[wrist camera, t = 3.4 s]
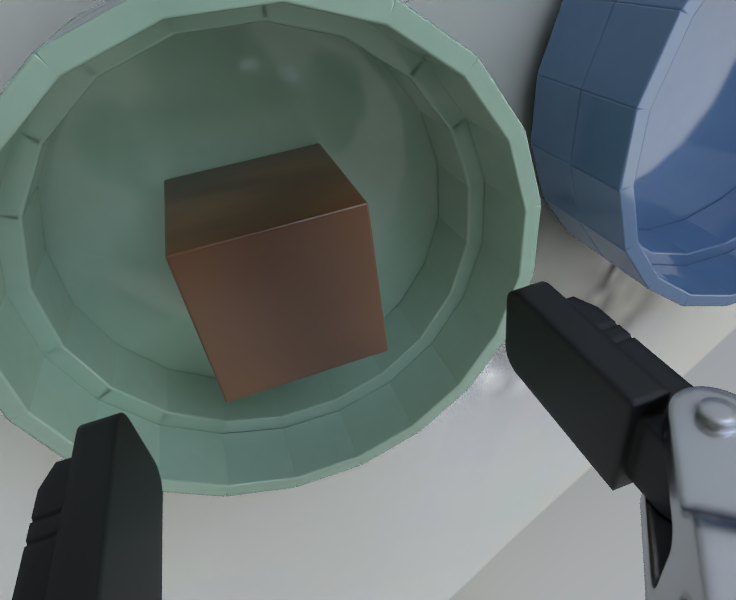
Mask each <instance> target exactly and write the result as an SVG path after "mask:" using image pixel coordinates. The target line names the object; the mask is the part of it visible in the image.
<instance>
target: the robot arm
mask: <svg viewBox="0 0 736 600" xmlns="http://www.w3.org/2000/svg"><path fill="white" fill-rule="evenodd" d="M506 352H507V356H508V359H509V361H510V364H511V366H512V368H513V369H514V371H515V372H516V373H517V375H518V376H519V377H520V378H521V379H522V381H523V382H524V383H525V384H526V386H527V387H528V388H529V389H530V390H531V392H532V393H533V394H534V395H535V397H536V398H537V399H538V400H539V401H540V403H541V404H542V405H543V406H544V407H545V409H546V410H547V411H548V412H549V414H550V415H551V416H552V417H553V418H554V420H555V421H556V422H557V423H558V425H559V426H560V427H561V428H562V429H563V431H564V432H565V433H566V434H567V435H568V437H569V438H570V439H571V440H572V442H573V443H574V444H575V445H576V446H577V448H578V449H579V450H580V451H581V453H582V454H583V455H584V456H585V457H586V459H587V460H588V461H589V462H590V463H591V465H592V466H593V467H594V468H595V470H596V471H597V472H598V473H599V474H600V476H601V477H602V478H603V479H604V481H606V483H607V484H608V485H609V487H610V488H611V489H612V490H615V489H617V488H620V487H623V486H625V485H628V484H630V483H634V484H635V485H636V486H637V488H638V489H639V490H640V491H641V492H642V495H641V499H640V509H641V526H642V541H643V542H642V543H643V559H644V576H645V597H646V598H645V599H646V600H736V395H735V394H733V393H731V392H728V391H725V390H721V389H718V388H713V387H704V386H699V387H693V386H692V385H691V384H689V383H688V382H687V381H686V380H685V379H683V378H682V377H681V376H680V375H679V374H677V373H676V372H675V371H674V370H673V369H671V368H670V367H669V366H668V365H667V364H665V363H664V362H663V361H662V360H661V359H659V358H658V357H657V356H656V355H655V354H653V353H652V352H651V351H650V350H649V349H647V348H646V347H645V346H644V345H643V344H641V343H640V342H639V341H638V340H637V339H635V338H631V336H630V334H629V333H628V332H627V331H626V330H625V329H623V328H622V327H621V326H620V325H616V323H615V321H614V320H613V319H611V318H610V317H609V316H608V315H607V314H605V313H604V312H603V311H602V310H601V309H599V308H598V307H597V306H594V305H592V304H590V303H587V302H585V301H583V300H580V299H578V298H576V297H570V298H567V299H566V298H565V297H563V296H562V295H561V294H560V293H559V292H558V291H557V290H555V289H554V288H553V287H552V286H551V285H550V284H548V283H547V282H543V281H542V282H538V283H535V284H532V285H529V286H525V287H522V288H519V289H516V290H513V291H510V292H509V293H508V296H507V307H506ZM162 504H163V491H162V482H161V477H160V473H159V470H158V467H157V465H156V463H155V461H154V459H153V457H152V456H151V454H150V452H149V451H148V449H147V447H146V446H145V444H144V442H143V441H142V439H141V438H140V436H139V434H138V433H137V431H136V429H135V428H134V426H133V424H132V423H131V421H130V419H129V418H128V417H127V415H126V414H124V413H122V412H121V413H117V414H114V415H111V416H108V417H105V418H102V419H98V420H95V421H92V422H89V423H86V424H82V425H80V426H79V427H78V429H77V431H76V436H75V441H74V446H73V452H72V457H71V458H68V459H65V460H62V461H59V462H56V463H55V464H54V466H53V468H52V469H51V471H50V472H49V474H48V475H47V477H46V479H45V480H44V482H43V483H42V485H41V486H40V488H39V489H38V492H37V497H36V501H35V505H34V509H33V513H32V521H33V522H32V523H30V526H29V530H28V534H27V539H26V542H27V546H26V547H24V551H23V555H22V560H21V564H20V568H19V572H18V576H17V581H16V585H15V589H14V593H13V597H12V600H162Z"/></svg>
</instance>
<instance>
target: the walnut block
mask: <svg viewBox="0 0 736 600" xmlns="http://www.w3.org/2000/svg"><path fill="white" fill-rule="evenodd" d="M164 215H165V258H166V261H167V263H168V266H169V268H170V270H171V273H172V275H173V277H174V280H175V282H176V285H177V287H178V289H179V292H180V294H181V296H182V299H183V301H184V304H185V306H186V308H187V311H188V313H189V315H190V318H191V320H192V323H193V325H194V327H195V330H196V332H197V334H198V337H199V339H200V342H201V344H202V346H203V349H204V351H205V354H206V356H207V358H208V361H209V363H210V365H211V368H212V370H213V373H214V375H215V377H216V380H217V382H218V384H219V387H220V389H221V392H222V394H223V396H224V399H225V401H226V402H230V401H233V400H236V399H240V398H243V397H246V396H249V395H252V394H255V393H258V392H261V391H264V390H268V389H271V388H274V387H277V386H280V385H283V384H286V383H289V382H292V381H295V380H299V379H302V378H305V377H308V376H311V375H314V374H317V373H320V372H323V371H326V370H330V369H333V368H336V367H339V366H342V365H345V364H348V363H351V362H354V361H357V360H361V359H364V358H367V357H370V356H373V355H376V354H379V353H382V352H385V351H387V350H388V344H387V337H386V330H385V323H384V315H383V308H382V301H381V294H380V286H379V279H378V272H377V265H376V257H375V250H374V243H373V236H372V228H371V221H370V214H369V206H368V203H367V202H366V200H365V199H364V198H363V197H362V195H361V194H360V193H359V192H358V190H357V189H356V188H355V187H354V185H353V184H352V183H351V182H350V180H349V179H348V178H347V177H346V175H345V174H344V173H343V172H342V170H341V169H340V168H339V167H338V165H337V164H336V163H335V162H334V160H333V159H332V158H331V157H330V155H329V154H328V153H327V152H326V151H325V149H324V148H323V147H322V146H321V144H319V143H318V144H314V145H310V146H305V147H301V148H297V149H293V150H289V151H284V152H280V153H276V154H272V155H268V156H263V157H259V158H255V159H251V160H247V161H243V162H238V163H234V164H230V165H226V166H222V167H217V168H213V169H209V170H205V171H201V172H196V173H192V174H188V175H184V176H180V177H176V178H171V179H167V180H165V181H164Z"/></svg>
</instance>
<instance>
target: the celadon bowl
mask: <svg viewBox="0 0 736 600" xmlns="http://www.w3.org/2000/svg"><path fill="white" fill-rule="evenodd" d="M318 143H319V144H321V146H322V147H323V148H324V149H325V151H326V152H327V153H328V154H329V155H330V157H331V158H332V159H333V160H334V162H335V163H336V164H337V165H338V167H339V168H340V169H341V170H342V172H343V173H344V174H345V175H346V177H347V178H348V179H349V180H350V182H351V183H352V184H353V185H354V187H355V188H356V189H357V190H358V192H359V193H360V194H361V195H362V197H363V198H364V199H365V200H366V202H367V203H368V206H369V214H370V221H371V228H372V236H373V243H374V250H375V257H376V265H377V272H378V279H379V286H380V294H381V301H382V308H383V315H384V323H385V330H386V337H387V344H388V350H387V351H385V352H382V353H379V354H376V355H373V356H370V357H367V358H364V359H361V360H357V361H354V362H351V363H348V364H345V365H342V366H339V367H336V368H333V369H330V370H326V371H323V372H320V373H317V374H314V375H311V376H308V377H305V378H302V379H299V380H295V381H292V382H289V383H286V384H283V385H280V386H277V387H274V388H271V389H268V390H264V391H261V392H258V393H255V394H252V395H249V396H246V397H243V398H240V399H236V400H233V401H230V402H226V401H225V399H224V396H223V394H222V392H221V389H220V387H219V384H218V382H217V380H216V377H215V375H214V373H213V370H212V368H211V365H210V363H209V361H208V358H207V356H206V354H205V351H204V349H203V346H202V344H201V342H200V339H199V337H198V334H197V332H196V330H195V327H194V325H193V323H192V320H191V318H190V315H189V313H188V311H187V308H186V306H185V304H184V301H183V299H182V296H181V294H180V292H179V289H178V287H177V285H176V282H175V280H174V277H173V275H172V273H171V270H170V268H169V266H168V263H167V261H166V258H165V215H164V181H165V180H167V179H171V178H176V177H180V176H184V175H188V174H192V173H196V172H201V171H205V170H209V169H213V168H217V167H222V166H226V165H230V164H234V163H238V162H243V161H247V160H251V159H255V158H259V157H263V156H268V155H272V154H276V153H280V152H284V151H289V150H293V149H297V148H301V147H305V146H310V145H314V144H318ZM540 211H541V200H540V195H539V190H538V186H537V181H536V177H535V172H534V167H533V163H532V158H531V154H530V149H529V144H528V140H527V135H526V131H525V129H524V127H523V125H522V123H521V122H520V120H519V119H518V117H517V116H516V114H515V113H514V111H513V110H512V108H511V107H510V105H509V103H508V102H507V100H506V99H505V97H504V96H503V94H502V93H501V91H500V90H499V88H498V86H497V85H496V83H495V82H494V80H493V79H492V77H491V76H490V74H489V73H488V71H487V70H486V68H485V66H484V65H483V63H482V62H481V60H480V59H479V58H478V57H477V56H476V54H474V53H473V52H471V51H470V50H469V49H467V48H466V47H464V46H463V45H461V44H460V43H459V42H457V41H456V40H454V39H453V38H452V37H450V36H449V35H447V34H446V33H445V32H443V31H442V30H440V29H439V28H437V27H436V26H435V25H433V24H432V23H430V22H429V21H428V20H426V19H425V18H423V17H422V16H421V15H419V14H418V13H416V12H415V11H413V10H412V9H411V8H409V7H408V6H406V5H405V4H404V3H402V2H401V1H399V0H106V1H104V2H102V3H100V4H98V5H97V6H95V7H93V8H91V9H89V10H88V11H86V12H84V13H82V14H80V15H78V16H77V17H75V18H73V19H71V20H70V21H69V22H68V23H67V24H65V25H64V26H63V27H62V28H61V29H60V30H59V31H57V32H56V33H55V34H54V35H52V36H51V37H50V38H49V39H48V40H47V41H45V42H44V43H43V44H42V45H41V46H40V47H39V48H37V49H36V50H35V51H34V52H33V53H32V54H31V55H30V56H29V57H28V59H27V60H26V61H25V62H24V64H23V65H22V66H21V68H20V69H19V70H18V71H17V73H16V74H15V75H14V77H13V78H12V79H11V80H10V82H9V83H8V84H7V86H6V87H5V88H4V89H3V91H2V92H1V93H0V410H1V411H2V413H3V414H4V415H5V417H6V418H7V419H9V421H10V422H11V423H13V424H14V425H16V426H17V427H19V428H20V429H22V430H23V431H25V432H26V433H28V434H29V435H31V436H32V437H34V438H35V439H36V440H38V441H39V442H41V443H42V444H44V445H45V446H47V447H48V448H50V449H51V450H53V451H54V452H56V453H57V454H59V455H60V456H62V457H63V458H65V459H68V458H71V457H72V452H73V446H74V441H75V436H76V431H77V429H78V427H79V426H80V425H82V424H86V423H89V422H92V421H95V420H98V419H102V418H105V417H108V416H111V415H114V414H117V413H121V412H122V413H124V414H126V415H127V417H128V418H129V419H130V421H131V423H132V424H133V426H134V428H135V429H136V431H137V433H138V434H139V436H140V438H141V439H142V441H143V442H144V444H145V446H146V447H147V449H148V451H149V452H150V454H151V456H152V457H153V459H154V461H155V463H156V465H157V467H158V470H159V473H160V477H161V482H162V491H163V492H174V493H186V494H199V495H212V496H225V495H226V496H233V495H241V494H248V493H256V492H264V491H271V490H279V489H287V488H294V487H295V486H296V487H298V486H301V485H304V484H307V483H310V482H313V481H316V480H319V479H322V478H325V477H328V476H331V475H334V474H337V473H340V472H343V471H346V470H349V469H352V468H354V467H357V466H360V464H361V465H362V464H364V463H366V462H368V461H369V460H371V459H373V458H375V457H376V456H378V455H380V454H382V453H383V452H385V451H387V450H389V449H390V448H392V447H394V446H396V445H397V444H399V443H401V442H403V441H404V440H406V439H408V438H410V437H411V436H413V435H415V434H417V433H418V432H419V431H421V430H422V429H423V428H424V427H425V426H427V425H428V424H429V423H430V422H431V421H432V420H433V419H435V418H436V417H437V416H438V415H439V414H440V413H442V412H443V411H444V410H445V409H446V408H447V407H448V406H450V405H451V404H452V403H453V402H454V401H455V400H456V399H458V398H459V397H460V396H461V395H462V394H463V393H464V392H466V391H467V388H470V386H471V385H472V384H473V382H474V381H475V379H476V378H477V377H478V375H479V374H480V373H481V371H482V370H483V369H484V367H485V366H486V365H487V363H488V362H489V361H490V359H491V358H492V357H493V355H494V354H495V353H496V351H497V350H498V348H499V347H500V346H501V344H502V343H503V342H504V340H505V339H506V307H507V296H508V293H509V292H510V291H513V290H516V289H519V288H522V287H525V286H529V284H530V281H531V279H532V277H533V273H534V265H535V256H536V247H537V238H538V229H539V220H540Z"/></svg>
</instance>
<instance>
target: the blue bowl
mask: <svg viewBox="0 0 736 600" xmlns="http://www.w3.org/2000/svg"><path fill="white" fill-rule="evenodd" d="M531 143H532V150H533V155H534V159H535V164H536V169H537V173H538V178H539V183H540V187H541V192H542V195H543V197H544V199H545V201H546V202H547V204H548V205H549V206H550V208H551V209H552V211H553V212H554V214H555V215H556V216H557V218H558V219H559V221H560V222H561V224H562V225H563V226H564V228H565V229H566V231H568V232H569V233H570V234H571V235H573V236H574V237H576V238H577V239H578V240H580V241H581V242H583V243H584V244H586V245H587V246H588V247H590V248H591V249H593V250H594V251H595V252H597V253H598V254H600V255H601V256H602V257H604V258H605V259H607V260H608V261H609V262H611V263H612V264H614V265H615V266H616V267H618V268H619V269H621V270H622V271H624V272H625V273H626V274H628V275H629V276H631V277H632V278H633V279H635V280H636V281H638V282H639V283H640V284H642V285H643V286H645V287H646V288H648V289H649V290H651V291H653V292H655V293H657V294H659V295H661V296H663V297H665V298H667V299H669V300H671V301H673V302H675V303H677V304H679V305H681V306H727V305H731V304H734V303H736V0H563V1H562V4H561V7H560V10H559V12H558V15H557V18H556V21H555V24H554V27H553V30H552V33H551V36H550V39H549V41H548V44H547V47H546V50H545V53H544V56H543V59H542V62H541V65H540V68H539V70H538V75H537V81H536V92H535V103H534V114H533V125H532V136H531Z"/></svg>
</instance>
